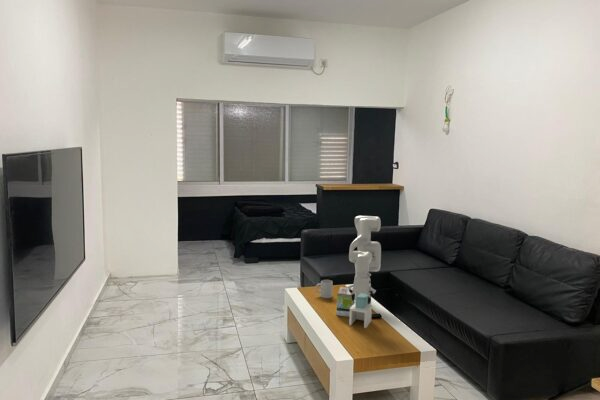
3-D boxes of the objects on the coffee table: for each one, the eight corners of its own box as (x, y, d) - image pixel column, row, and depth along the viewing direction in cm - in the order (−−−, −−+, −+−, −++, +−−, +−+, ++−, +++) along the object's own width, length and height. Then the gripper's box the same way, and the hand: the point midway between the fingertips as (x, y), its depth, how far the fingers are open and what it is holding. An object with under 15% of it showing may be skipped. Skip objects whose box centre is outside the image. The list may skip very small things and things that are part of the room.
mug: (331, 294, 333) (331, 279, 332) (333, 298, 325) (333, 283, 324) (314, 294, 332) (315, 279, 331) (316, 298, 324) (316, 283, 322)
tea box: (351, 317, 291) (352, 294, 289) (336, 315, 293) (336, 293, 291) (353, 308, 306) (354, 287, 304) (338, 307, 308) (339, 285, 306)
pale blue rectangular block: (361, 301, 290) (361, 292, 289) (369, 302, 288) (369, 293, 287) (355, 307, 279) (355, 297, 278) (363, 308, 277) (363, 299, 276)
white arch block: (355, 318, 290) (355, 302, 288) (371, 321, 286) (371, 304, 284) (349, 324, 279) (349, 308, 277) (365, 328, 275) (366, 311, 273)
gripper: (377, 274, 278) (376, 302, 280) (350, 271, 285) (349, 297, 287) (374, 278, 271) (373, 306, 274) (346, 274, 278) (345, 301, 280)
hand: (361, 301), depth 280 cm, fingers open, 9 cm apart
